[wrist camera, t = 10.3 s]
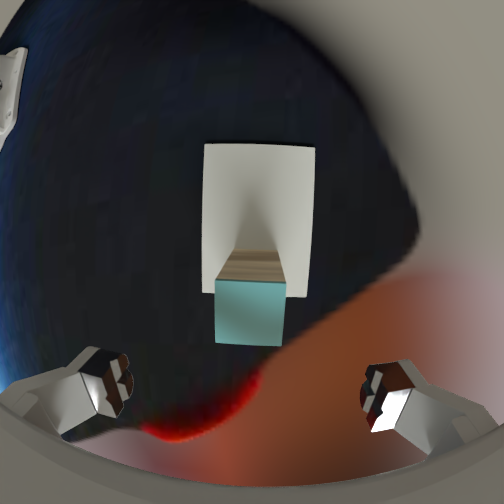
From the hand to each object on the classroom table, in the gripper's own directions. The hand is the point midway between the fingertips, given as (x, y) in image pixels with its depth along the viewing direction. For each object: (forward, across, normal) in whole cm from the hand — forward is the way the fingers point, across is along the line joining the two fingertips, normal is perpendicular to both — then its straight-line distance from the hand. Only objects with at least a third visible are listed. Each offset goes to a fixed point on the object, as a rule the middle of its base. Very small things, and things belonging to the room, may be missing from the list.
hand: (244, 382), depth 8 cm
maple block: (+17, 0, +1) cm, 17 cm away
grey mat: (+18, 0, -3) cm, 18 cm away
